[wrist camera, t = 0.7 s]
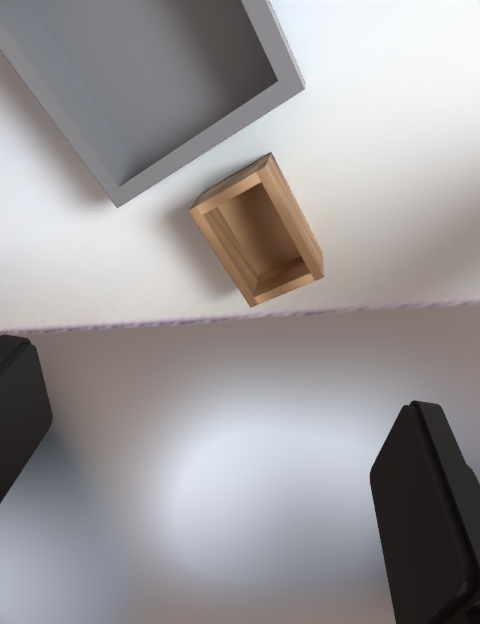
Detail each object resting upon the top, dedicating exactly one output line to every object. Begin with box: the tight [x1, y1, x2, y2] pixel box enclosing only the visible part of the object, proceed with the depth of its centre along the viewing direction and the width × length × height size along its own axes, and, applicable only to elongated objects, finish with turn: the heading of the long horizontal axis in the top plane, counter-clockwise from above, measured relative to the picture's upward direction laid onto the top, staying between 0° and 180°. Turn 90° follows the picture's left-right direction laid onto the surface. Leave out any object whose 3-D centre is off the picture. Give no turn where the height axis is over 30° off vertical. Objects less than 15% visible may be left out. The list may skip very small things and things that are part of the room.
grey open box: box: [0, 0, 305, 208], centre depth 26 cm, size 16×16×6 cm
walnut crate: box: [188, 152, 324, 307], centre depth 33 cm, size 7×10×5 cm
